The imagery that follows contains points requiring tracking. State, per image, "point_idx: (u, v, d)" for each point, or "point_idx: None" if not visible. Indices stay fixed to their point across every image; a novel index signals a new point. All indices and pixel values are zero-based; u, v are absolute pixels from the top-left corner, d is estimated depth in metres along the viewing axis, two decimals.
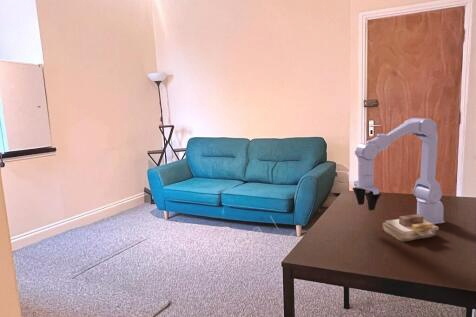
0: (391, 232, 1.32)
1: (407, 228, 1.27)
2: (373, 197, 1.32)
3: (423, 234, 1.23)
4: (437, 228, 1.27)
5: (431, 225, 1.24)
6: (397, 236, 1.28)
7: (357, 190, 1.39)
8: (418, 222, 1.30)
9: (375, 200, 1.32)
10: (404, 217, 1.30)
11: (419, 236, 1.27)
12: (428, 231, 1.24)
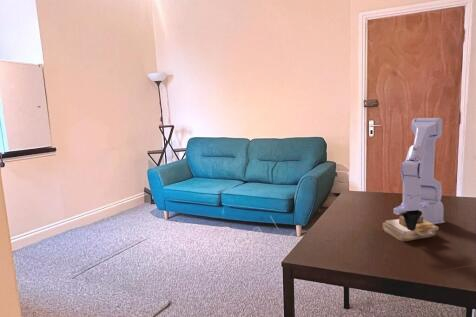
0: (391, 232, 1.32)
1: None
2: None
3: (423, 234, 1.23)
4: (437, 228, 1.27)
5: (431, 225, 1.24)
6: (397, 236, 1.28)
7: None
8: (418, 222, 1.30)
9: None
10: None
11: (419, 236, 1.27)
12: (428, 231, 1.24)
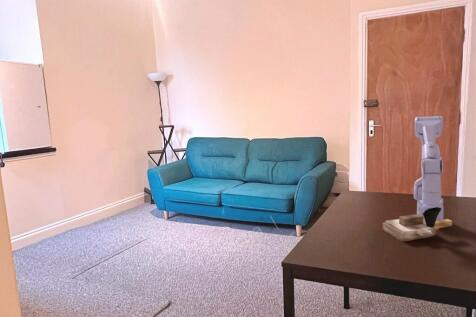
0: (391, 232, 1.32)
1: (407, 228, 1.27)
2: (430, 214, 1.24)
3: (423, 234, 1.23)
4: (437, 228, 1.27)
5: (451, 222, 1.26)
6: (397, 236, 1.28)
7: None
8: (418, 222, 1.30)
9: (432, 217, 1.23)
10: (404, 217, 1.30)
11: (419, 236, 1.27)
12: (428, 231, 1.24)
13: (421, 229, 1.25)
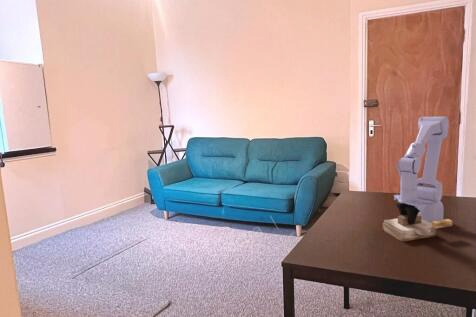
0: (391, 232, 1.32)
1: (406, 228, 1.28)
2: (413, 211, 1.29)
3: (422, 233, 1.23)
4: None
5: (451, 222, 1.26)
6: (397, 236, 1.28)
7: (401, 206, 1.32)
8: (416, 221, 1.31)
9: (415, 214, 1.29)
10: (403, 216, 1.31)
11: (419, 236, 1.27)
12: (427, 230, 1.24)
13: (419, 228, 1.26)
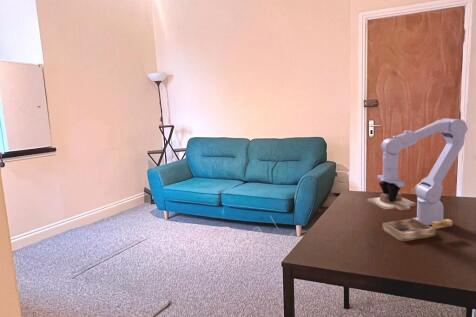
0: (391, 232, 1.32)
1: (387, 204, 1.37)
2: (394, 189, 1.39)
3: (402, 208, 1.33)
4: (414, 204, 1.37)
5: (451, 222, 1.26)
6: (397, 236, 1.28)
7: (384, 185, 1.42)
8: (397, 199, 1.41)
9: (396, 192, 1.39)
10: (384, 194, 1.41)
11: (419, 236, 1.27)
12: (406, 206, 1.34)
13: (399, 205, 1.36)
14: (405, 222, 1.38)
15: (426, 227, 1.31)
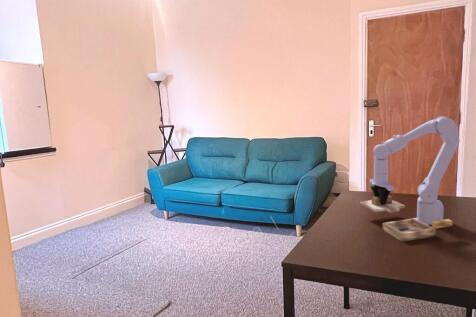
0: (391, 232, 1.32)
1: (378, 207, 1.44)
2: (385, 192, 1.46)
3: (392, 211, 1.40)
4: (404, 206, 1.44)
5: (451, 222, 1.26)
6: (397, 236, 1.28)
7: (375, 188, 1.49)
8: (388, 202, 1.48)
9: (386, 195, 1.46)
10: (376, 197, 1.48)
11: (419, 236, 1.27)
12: (396, 208, 1.41)
13: (390, 207, 1.43)
14: (405, 222, 1.38)
15: (426, 227, 1.31)
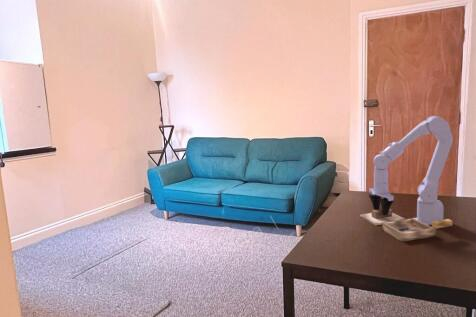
0: (391, 232, 1.32)
1: (378, 220, 1.45)
2: (387, 203, 1.45)
3: None
4: (404, 219, 1.45)
5: (451, 222, 1.26)
6: (397, 236, 1.28)
7: (373, 197, 1.51)
8: (388, 215, 1.49)
9: (389, 205, 1.45)
10: (375, 210, 1.49)
11: (419, 236, 1.27)
12: None
13: (390, 221, 1.44)
14: (405, 222, 1.38)
15: (426, 227, 1.31)
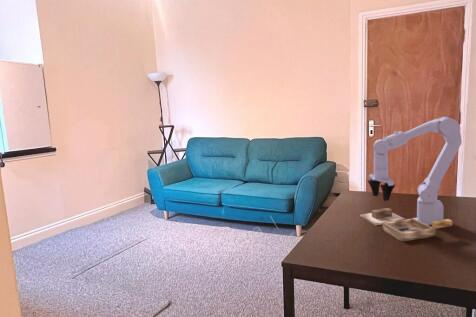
0: (391, 232, 1.32)
1: (378, 220, 1.45)
2: (388, 188, 1.43)
3: None
4: (404, 219, 1.45)
5: (451, 222, 1.26)
6: (397, 236, 1.28)
7: (372, 182, 1.50)
8: (388, 215, 1.49)
9: (389, 191, 1.43)
10: (376, 210, 1.49)
11: (419, 236, 1.27)
12: None
13: (390, 221, 1.44)
14: (405, 222, 1.38)
15: (426, 227, 1.31)
